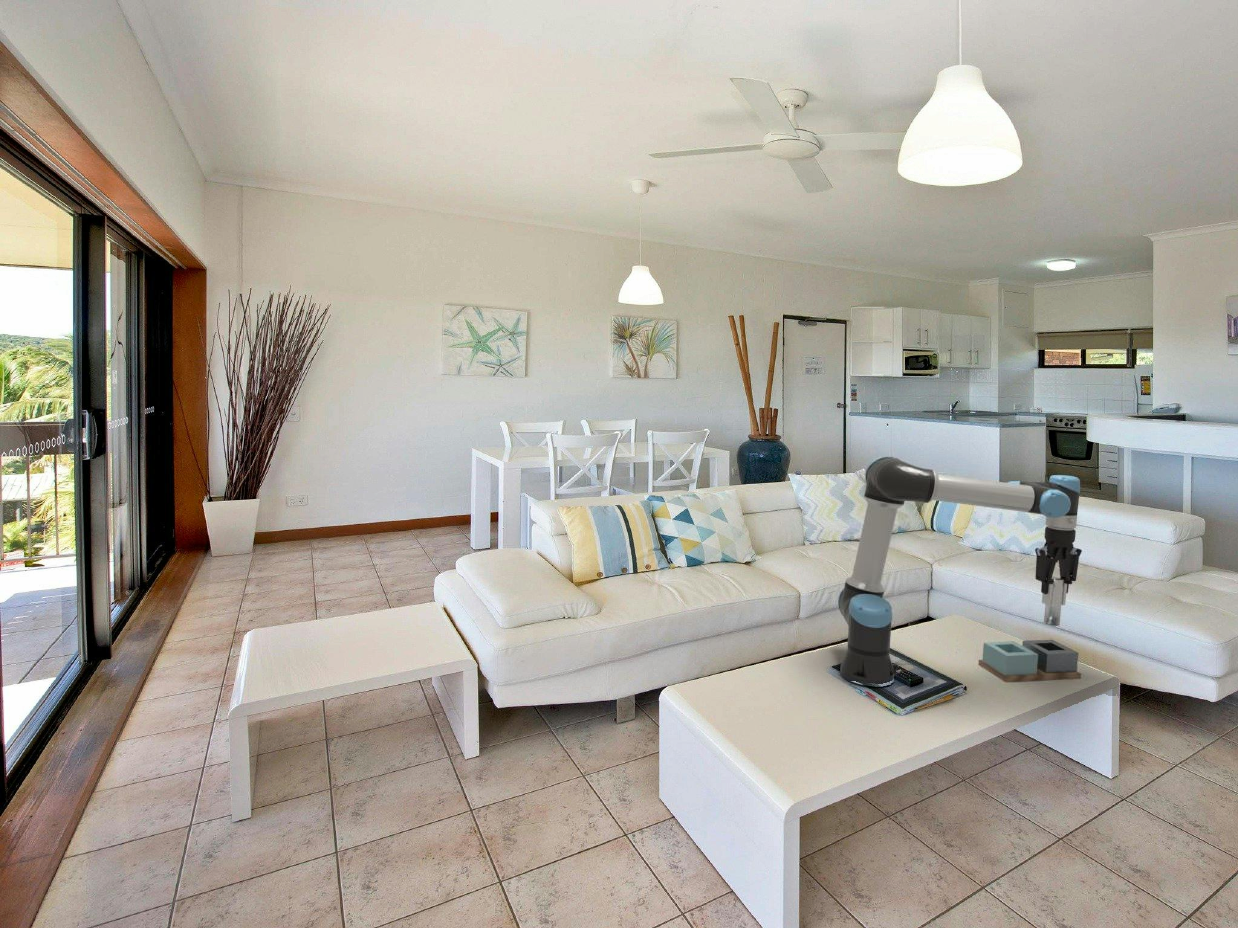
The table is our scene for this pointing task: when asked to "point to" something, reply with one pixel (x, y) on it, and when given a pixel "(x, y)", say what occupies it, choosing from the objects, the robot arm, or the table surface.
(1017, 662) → the teal square holder
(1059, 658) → the socket block
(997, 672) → the tool board
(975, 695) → the table surface
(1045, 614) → the translucent peg
